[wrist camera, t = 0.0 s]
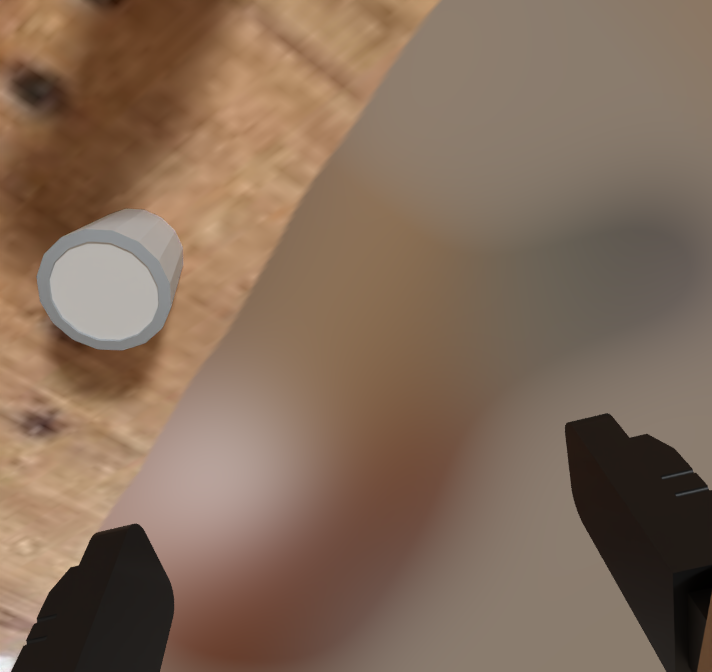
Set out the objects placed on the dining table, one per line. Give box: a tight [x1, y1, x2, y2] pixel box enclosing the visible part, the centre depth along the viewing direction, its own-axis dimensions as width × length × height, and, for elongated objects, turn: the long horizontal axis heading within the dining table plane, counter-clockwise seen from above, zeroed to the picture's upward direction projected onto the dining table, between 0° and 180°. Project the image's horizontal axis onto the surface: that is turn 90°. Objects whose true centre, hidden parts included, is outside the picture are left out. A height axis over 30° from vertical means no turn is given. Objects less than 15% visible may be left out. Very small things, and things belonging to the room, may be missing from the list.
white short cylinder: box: [37, 209, 183, 350], centre depth 36 cm, size 7×7×7 cm
